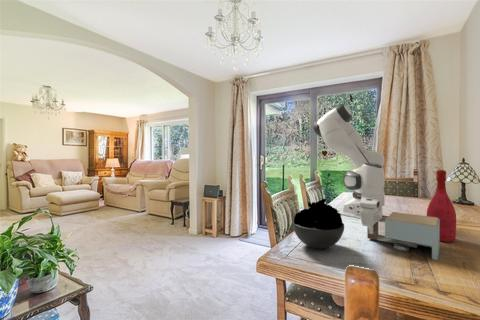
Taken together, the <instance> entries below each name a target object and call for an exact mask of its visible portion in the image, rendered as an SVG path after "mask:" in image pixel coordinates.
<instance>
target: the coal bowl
mask: <svg viewBox="0 0 480 320" xmlns="http://www.w3.org/2000/svg"><path fill="white" fill-rule="evenodd" d="M326 201H327V199H326V198H322V199H320V200H318V201H316V202H315V201H312V202H307V206H308V207H309V208H304V209H303V208H302V209H301V210H299V212H296V213H295V214H294V218H293V220H292V228H293V231H294V234H295V235H296V237H297V239H299V241H300V242H302V243H303V244H304V245H305V246H307V247H309V248H312V249H321V250H323V249H328V248H330V247H333V246H334V245H336V244H337V243H338V242H339V241H340V240H341V238H342V236H343V235H344V231H345V224H344V223H343V219H342V215H341V214H340V213H339V211H338V208H335V207H333V206H331V205H330V204H327V203H326Z"/></svg>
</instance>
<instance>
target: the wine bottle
mask: <svg viewBox="0 0 480 320" xmlns="http://www.w3.org/2000/svg"><path fill="white" fill-rule="evenodd" d="M435 172H436V176H435V177H436V179H435V180H436V181H437V182H436V183H437V184H436V190H435V192H434V195H433V197H432V198H431V200H430V202H429V204H428V206H427V209H426V216H429V217H437V218H438V219H440V231H439V242H443V243H453V242H455V241H456V237H457V212H456V210H455V207H454V204H453V203H452V201H451V199H450V197H449V195H448V192H447V187H446V186H447V185H446V181H447V171H446V170H445V169H437V170H436V171H435Z"/></svg>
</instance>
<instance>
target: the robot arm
mask: <svg viewBox="0 0 480 320" xmlns="http://www.w3.org/2000/svg"><path fill="white" fill-rule="evenodd" d="M352 117H353V113H352V110H351V109H350V107H348V105H345V104H342V103H340V104H338V105H336V106H335V107H334V108H332V109H330V110H329V111H328V112H326V113H325V114H323V115H322V116H321V117H320V118H318V120H316V121H315V122H314V123H313V126H312V129H313V131H314V133H315V134H316V135H317V136H318V137H321V138H322V140H323V142H324V144H325V146H326V147H327V149H329V151H332V152H334V153H337V154H340V155H343V156H345V157H347V158H349V160H350V163H351V164H352V165H353V167H355V168H354V169H350V170H347V171H345V173H344V174H343V177H342V182H343V185H344V187H345V188H346V189H347V190H349V191H353V192H352V197H351V198H350V199H348V200H347V201H346V202H344V203H343V206H342V209H340V210H339V211H338V213H340V214H341V216H347V217H351V218H354V219H355V218H357V219H360V220H361V224H362V226H363V227H367V226H368V229H369V234H373V233H374V227H373V226H374V224H375V223H376V222H378V223H379V220H381V219H382V218H383V214H384V213H383V206H384V207H385V205H386V201H385V194H386V193H385V190H384V188H385V183H386V179H385V171H384V170H385V169H384V167H383V166H384V165H385V162H386V159H385V156H384V155H383V153H381V152H379V151H376V150H368V149H367V148H366V147H365V145H364V139H363V137H362V136H361V134H360V133H359V132H358V131H357V130H356V128H355V127H354V126H353V124H352V123H351V120H352Z"/></svg>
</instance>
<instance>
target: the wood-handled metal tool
mask: <svg viewBox="0 0 480 320" xmlns="http://www.w3.org/2000/svg"><path fill="white" fill-rule="evenodd" d="M366 227H367V228H366V229H367V230H366V231H367V232H366V233H367V237H366V238H367V239H371V240H374V241H381V242H385V243H389V244H390V243H391V244H394V243H404V244H407V245H409V248H413V249H415V248H416V249H418V247H419V245H418V244H417V243H412V242H406V241H401V240H396V239H391V238H386V237H385V235H382V234H379V221H378V222H376V223H375V224H374V226H373V227H374V233H373V234H369V229H368V226H366Z"/></svg>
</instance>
